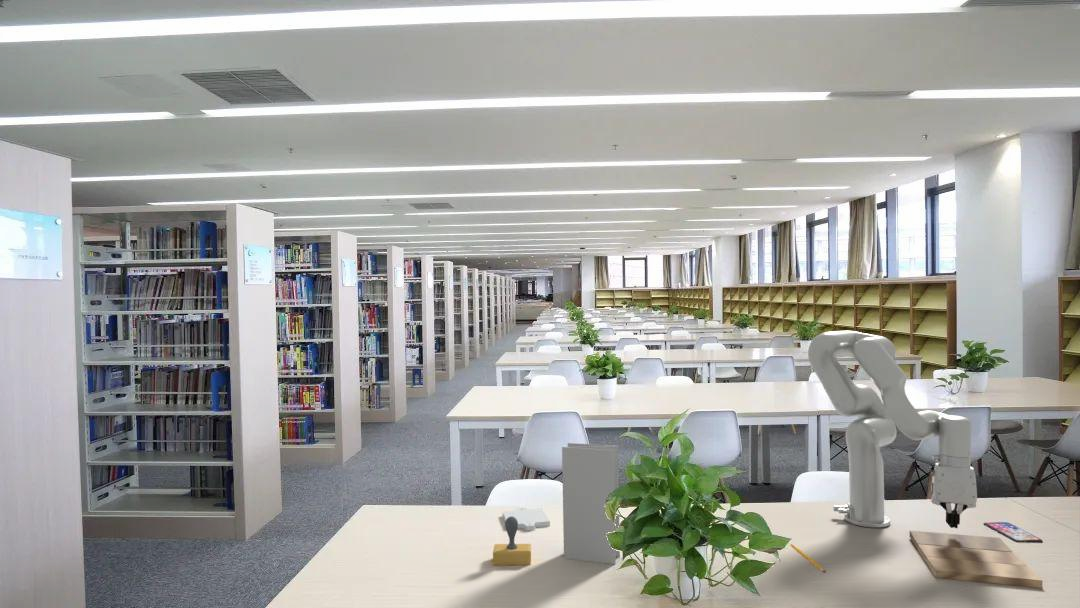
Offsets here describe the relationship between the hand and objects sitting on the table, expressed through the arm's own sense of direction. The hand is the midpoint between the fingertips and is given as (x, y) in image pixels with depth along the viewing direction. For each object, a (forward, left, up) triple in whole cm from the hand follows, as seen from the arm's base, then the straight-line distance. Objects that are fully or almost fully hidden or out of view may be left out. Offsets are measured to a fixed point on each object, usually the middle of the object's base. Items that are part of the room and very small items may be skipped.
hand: (952, 526), depth 180 cm
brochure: (-94, -36, -5) cm, 101 cm away
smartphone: (+19, +14, -6) cm, 24 cm away
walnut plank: (+1, -3, -5) cm, 5 cm away
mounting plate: (-121, -13, -6) cm, 122 cm away
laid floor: (+1, -17, -5) cm, 17 cm away
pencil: (-39, -21, -6) cm, 45 cm away
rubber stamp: (-114, -44, -5) cm, 122 cm away
